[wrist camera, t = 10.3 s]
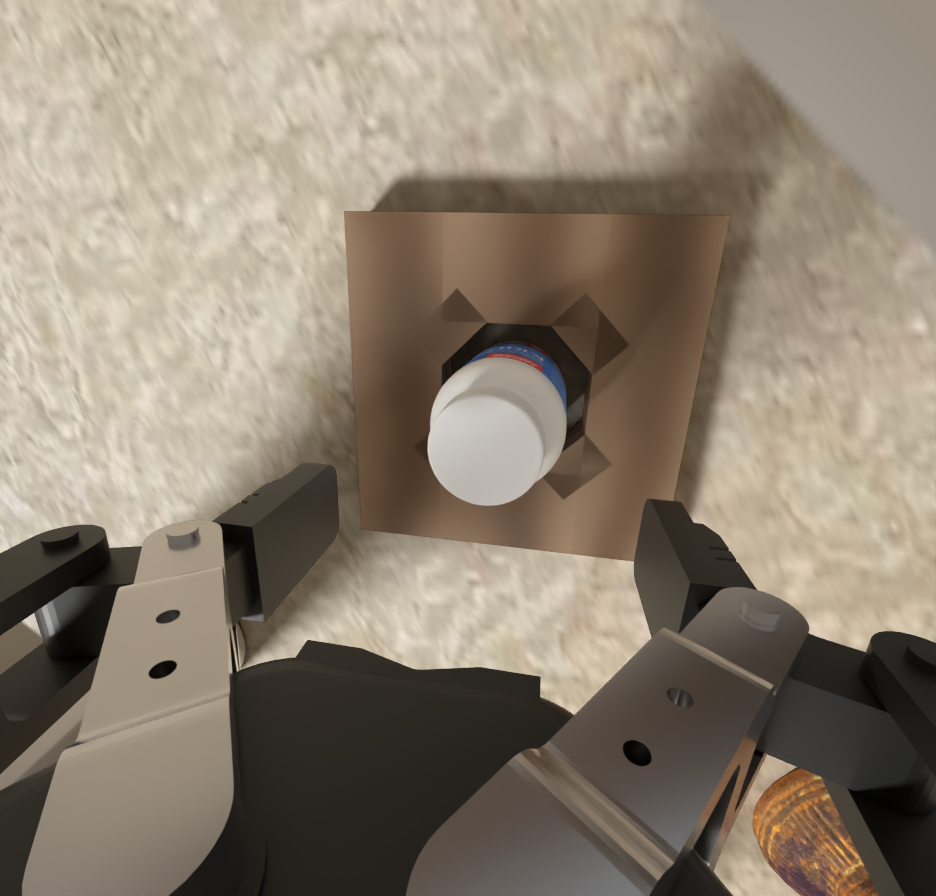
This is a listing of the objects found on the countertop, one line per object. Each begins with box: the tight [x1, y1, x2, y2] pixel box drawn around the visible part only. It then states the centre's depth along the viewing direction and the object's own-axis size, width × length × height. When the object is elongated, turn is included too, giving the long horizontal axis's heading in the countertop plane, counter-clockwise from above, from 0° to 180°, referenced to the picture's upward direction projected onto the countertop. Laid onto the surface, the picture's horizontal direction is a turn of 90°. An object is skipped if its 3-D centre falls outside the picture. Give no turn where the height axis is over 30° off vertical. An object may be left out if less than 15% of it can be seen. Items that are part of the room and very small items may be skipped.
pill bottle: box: [428, 341, 567, 506], centre depth 20 cm, size 6×5×10 cm
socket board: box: [344, 211, 730, 561], centre depth 23 cm, size 16×16×2 cm
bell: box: [753, 768, 879, 896], centre depth 27 cm, size 12×12×7 cm
